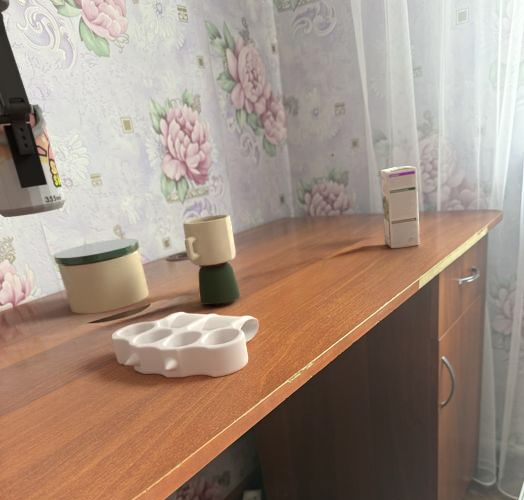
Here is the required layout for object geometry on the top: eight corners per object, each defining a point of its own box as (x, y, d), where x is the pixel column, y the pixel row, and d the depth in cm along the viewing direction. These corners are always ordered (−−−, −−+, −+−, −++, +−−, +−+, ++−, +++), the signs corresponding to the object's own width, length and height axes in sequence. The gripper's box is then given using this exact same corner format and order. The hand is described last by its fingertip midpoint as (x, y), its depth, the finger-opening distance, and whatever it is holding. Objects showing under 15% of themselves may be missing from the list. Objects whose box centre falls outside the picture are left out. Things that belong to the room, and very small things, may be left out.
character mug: (223, 291, 85) (209, 213, 80) (258, 292, 81) (246, 210, 76) (181, 312, 76) (163, 227, 72) (218, 315, 73) (202, 225, 68)
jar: (63, 314, 85) (45, 253, 82) (135, 293, 92) (121, 236, 88) (85, 330, 75) (65, 261, 71) (165, 305, 81) (150, 241, 78)
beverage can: (72, 208, 60) (43, 97, 55) (-4, 221, 57) (-42, 105, 52) (65, 205, 68) (38, 107, 63) (-2, 215, 65) (-35, 114, 60)
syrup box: (420, 245, 96) (419, 165, 91) (389, 249, 97) (386, 170, 91) (412, 239, 102) (410, 164, 96) (383, 243, 102) (379, 169, 96)
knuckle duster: (282, 337, 61) (213, 392, 50) (170, 328, 70) (90, 373, 59) (279, 311, 60) (207, 361, 48) (165, 305, 69) (82, 346, 57)
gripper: (16, -76, 46) (81, 180, 54) (-14, -2, 63) (39, 183, 71) (-78, -85, 42) (7, 191, 51) (-82, -4, 59) (-18, 191, 68)
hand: (26, 186), depth 61 cm, fingers closed on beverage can, 9 cm apart
